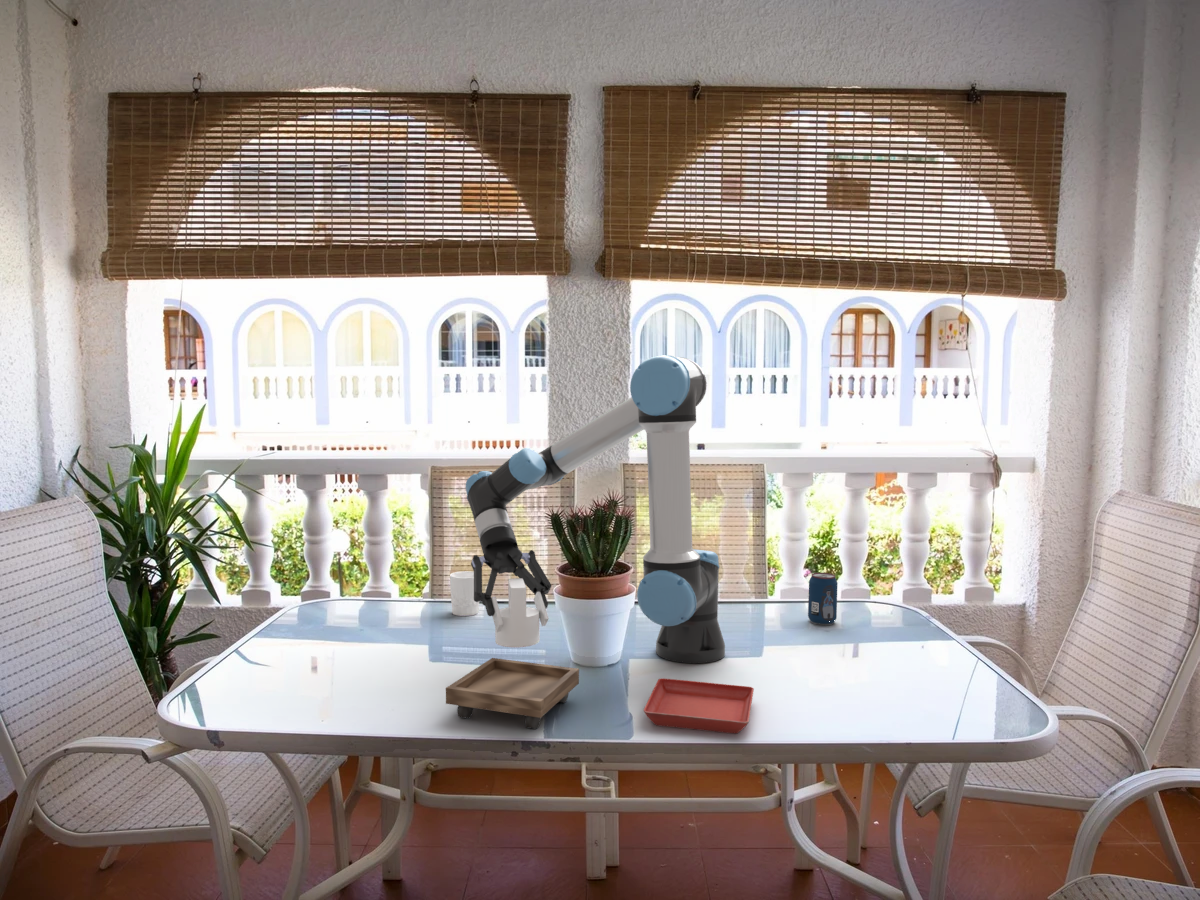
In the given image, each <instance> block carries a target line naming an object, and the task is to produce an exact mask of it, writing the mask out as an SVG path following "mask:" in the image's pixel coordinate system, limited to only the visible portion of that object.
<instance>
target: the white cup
mask: <svg viewBox="0 0 1200 900" xmlns="http://www.w3.org/2000/svg"><path fill="white" fill-rule="evenodd" d="M449 585H450V586H449V587H450V590H449V591H450V601H451V602H450V603H451V612H452V614H453V615H454V616H458V617H468V616H470V617H471V616H476V615H477V614H479V613H480V612H479V611H480V601H479V602H475V601H474V571H470V570H469V571H467V570H466V571H465V570H464V571H456V572H452V573H450V574H449Z"/></svg>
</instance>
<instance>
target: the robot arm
mask: <svg viewBox="0 0 1200 900" xmlns="http://www.w3.org/2000/svg"><path fill="white" fill-rule="evenodd" d="M707 384H708V383H707V377H706V375H705V373H704V370H703V369H702V367H700V365H699V364H697V363H696V362H695V361H694V360H692V359H689V358H686V357H681V356H673V355H665V354H662V355H657V356H652V357H650V358H647V359H645V360H644V361H642V362H641V363H640V364H639V365H638V367H636V369H635V371H634V372H633V374H632V376H631V380H630V385H629V388H630V389H629V391H630V395H631V396H630V397H629V398H627V399H626V400H624V401H623V402H621V403H620V404H618V405H616V406H615V407H613V408H611V409H609V410H608V411H606V412H605V413H603V414H600V415H599V416H597V418H594V419H593V420H591V421H589V422H588V423H587V424H585V425H583V426H581V427H580V428H577V429H576V430H575V431H573V432H572V433H569V434H568V435H566V436H564V437H562V438H561V439H560V440H558V441H556V442H555V443H553V444H552V445H551V446H548V447H547V448H545V449H543V450H542V451H540V452H538V451H536V450H534V449H531V447H524V448H521V450H520V451H518V452H516V453H514V454H512V456H511V457H510V458H509V459H507V460H506V461H505V462H503V464H502V465H500V466H499V467H498V468H496V470H494V471H493V472H491V471H488V470H482V471H479V472H478V473H473V474H472V475H470V476H469V477H467V480H466V482H465V491H466V499H467V500H466V501H467V503H468V504H469V507H470V511H471V514H472V516H473V522H474V525H475V528H476V531H477V532H476V533H477V536H478V538H479V544H480V546H481V547H480V548H481V552H482V554H483V556H479V555H477V554H475V555H473V557H472V559H471V562H470V565H471V568H472V571H473V572H474V601H475V602H479V603H480V602H482V605H483V606H484V607H485V611H486V615H487V616H488V617H492V620H493V623H494V628H496V631H497V632H500V631H501V629H502V626H503V621H502V618H501V614H500V611H499V609H500V608H499V607H500V606H499V604H498V601H497V596H492V594H493V590H494V587H495V584H496V580H497V576H498V574H499V575H502V574H505V573H508V574H513V575H514V576H516V577H518V578H523V580H524V583H525V586H526V588H528V589H529V590H530V592H532V593H533V594H534V597H533V601H534V605H535V609H537V610H539V623H540V625H541V627H545V626H546V625H547V623H548V622H549V619H550V618H549V615H548V612H547V608H548V605H549V603H548V600H547V596H546V595H548V594H549V593H550V591H551V588H552V584H551V582H550V580H549V579H548V577H547V576H546V574H545V572H544V570H543V569H542V567H541V565H540V563H539V562H538V560H537V557H536V553H535V551H534V550H533V549H532V550H529V551H528V552H522V550H521V549H520V548H519V545H518V542H517V539H516V535H515V532H514V530H513V525H512V521H511V519H510V516H509V512H508V510H507V505H508V504H509V503H510V502H512V501H513V500H515V499H516V498H517V497H519V496H520V495H522V494H523V493H524V492H525V491H528V490H531V489H535V488H540V487H545V486H551V485H554V484H556V483H559V482H560V481H561V480H563V478H564V477H565V476H566V475H568V474H570V473H572V471H575V470H576V469H578V468H580V467H581V466H584V464H585V465H586V463H588V462H590V461H592V460H593V459H595V458H597V457H599V456H600V455H602V454H604V453H605V452H608V451H609V450H611V449H612V448H614V447H616V446H618V445H619V444H621V443H623V442H625V441H626V440H628V439H630V438H632V437H633V436H636V434H638V433H640V432H642V431H643V430H644V431H645V432H646V452H647V453H646V459H647V482H648V484H647V488H648V490H647V491H648V517H649V522H648V523H649V546H650V547H649V550H648V551H647V552H646V553H645V554H644V555H643V556H642V557H643V558H642V561H643V563H642V565H643V569H642V571H643V578H642V579H641V580H640V582H639V584H638V587H637V590H636V598H637V603H638V606H639V608H640V611H641V612H642V614H643V615H644V616H645V617H646V618H648V619H649V620H650V621H651V622H653V623H654V624H657V625H659V626H660V630H659V633H658V635H657V638H656V641H655V653H656V654H657V655H658V656H659V657H661V658H662V659H664V660H668V661H671V662H677V663H682V664H706V663H712V662H717V661H719V660H721V659H723V658H724V657H725V655H726V645H725V641H724V636H723V634H722V631H721V627H720V624H719V620H718V615H719V614H718V612H719V611H718V610H719V607H718V606H719V574H720V573H719V570H720V561H719V556H718V554H717V553H716V552H715V551H711V550H703V549H695V548H693V525H692V523H693V522H692V521H693V520H692V494H691V492H692V491H691V490H692V489H691V485H692V484H691V455H690V452H691V451H690V430H691V428H692V427H694V426H695V424H696V423H697V406H698V405H700V404H701V402H702V400H703V399H704V397H705V395H706V392H707ZM521 560H523V561H524V563H523V562H522V561H521ZM484 564H485V565H486V566H488V567H489V568H490V569H491V571H490V574H489V577H488V578H489V579H488V580H487V581H488V582H487V585H486V588H485V592H483V567H484ZM525 564H526V565H527V567H528V569H529V570H530V571H529V570H528V569H527V568H526V567H525Z"/></svg>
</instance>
